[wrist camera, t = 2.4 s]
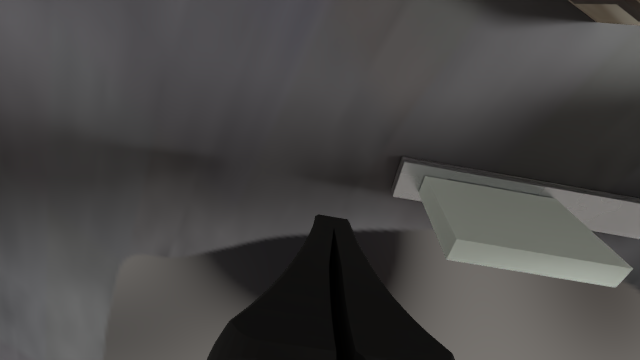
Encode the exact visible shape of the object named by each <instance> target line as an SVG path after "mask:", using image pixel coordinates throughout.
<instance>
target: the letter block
mask: <svg viewBox="0 0 640 360" xmlns="http://www.w3.org/2000/svg"><path fill="white" fill-rule="evenodd" d="M568 1H570V2H571V3H572V4H573V5H575V6H576V7H577V8H579V9H580V10H581V11H583V12H584V13H585V14H587V15H588V16H589V17H590V18H592V19H593V20H594V21H596V22H601V23H614V24H626V25H639V26H640V0H568Z"/></svg>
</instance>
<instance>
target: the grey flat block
mask: <svg viewBox="0 0 640 360" xmlns="http://www.w3.org/2000/svg"><path fill="white" fill-rule="evenodd" d="M419 196H420V198H421V200H422V203H423V205H424V208H425V210H426V212H427V215H428V217H429V219H430V222H431V224H432V227H433V229H434V231H435V234H436V236H437V238H438V241H439V243H440V245H441V248H442V250H443V253H444V255H445V258H446V259H447V260H453V261H458V262H464V263H471V264H477V265H483V266H489V267H495V268H501V269H507V270H513V271H519V272H525V273H531V274H537V275H543V276H550V277H555V278H561V279H567V280H574V281H579V282H586V283H592V284H598V285H604V286H610V287H617V286H618V284H620V282H621V281H622V280H623V279H624V278H625V277H626V276H627V275H628V274H629V273H630V272H631V271H632V270H633V268H632V267H631V266H630V265H628V264H627V263H626V262H625V261H624V260H623V259H622V258H621V257H620V256H618V255H617V254H616V253H615V252H614V251H613V250H612V249H611V248H610V247H609V246H607V245H606V244H605V243H604V242H603V241H602V240H601V239H600V238H599V237H597V236H596V235H595V234H594V233H593V232H592V231H591V230H590V229H589V228H588V227H586V226H585V225H584V224H583V223H582V222H581V221H580V220H579V219H578V218H576V217H575V216H574V215H573V214H572V213H571V212H570V211H569V210H568V209H567V208H565V207H564V206H563V205H562V204H561V203H560V202H559V201H558V200H557V199H553V198H548V197H542V196H536V195H530V194H525V193H519V192H513V191H508V190H502V189H496V188H491V187H485V186H479V185H474V184H468V183H462V182H456V181H451V180H445V179H439V178H434V177H428V176H425V178H424V180H423V183H422V185H421V188H420V190H419Z"/></svg>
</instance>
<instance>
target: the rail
mask: <svg viewBox="0 0 640 360" xmlns="http://www.w3.org/2000/svg"><path fill="white" fill-rule="evenodd" d="M425 176H428V177H434V178H439V179H445V180H451V181H456V182H462V183H468V184H474V185H479V186H485V187H491V188H496V189H502V190H508V191H513V192H519V193H525V194H530V195H536V196H542V197H548V198H553V199H557V200H558V201H559V202H560V203H561V204H562V205H563V206H564V207H565V208H567V209H568V210H569V211H570V212H571V213H572V214H573V215H574V216H575V217H576V218H578V219H579V220H580V221H581V222H582V223H583V224H584V225H585V226H586V227H588V228H589V229H590V230H591V231H596V232H602V233H607V234H613V235H619V236H625V237H631V238H636V239H640V198H635V197H630V196H624V195H618V194H613V193H607V192H601V191H596V190H590V189H585V188H579V187H573V186H568V185H562V184H556V183H551V182H545V181H539V180H534V179H528V178H523V177H517V176H511V175H506V174H500V173H494V172H489V171H483V170H478V169H472V168H466V167H461V166H455V165H449V164H444V163H438V162H432V161H427V160H421V159H416V158H410V157H404V156H402V158H401V161H400V164H399V167H398V170H397V173H396V176H395V179H394V182H393V185H392V188H391V192H392V196H393V197H398V198H404V199H410V200H416V201H422V200H421V198H420V196H419V190H420V188H421V185H422V183H423V180H424V178H425Z"/></svg>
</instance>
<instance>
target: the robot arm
mask: <svg viewBox="0 0 640 360" xmlns="http://www.w3.org/2000/svg"><path fill="white" fill-rule="evenodd" d="M207 360H455V359H454V356H453V354H452V353H451V352H450V351H449V350H448V349H446V348H445V347H444V346H443V345H442V344H440V343H439V342H438V341H437V340H436V339H435V338H433V337H432V336H431V335H430V334H429V333H428V332H426V331H425V330H424V329H423V328H422V327H421V326H420V325H419V324H418V323H417V322H416V321H415V320H414V319H413V318H412V317H411V316H410V315H409V314H408V313H407V312H406V311H405V310H404V309H403V307H402V306H401V305H400V304H399V303H398V302H397V301H396V300H395V299H394V297H393V296H392V295H391V294H390V292H389V291H388V290H387V289H386V287H385V286H384V284H383V283H382V282H381V280H380V279H379V277H378V276H377V274H376V273H375V271H374V270H373V268H372V267H371V265H370V263H369V262H368V260H367V258H366V256H365V255H364V253H363V251H362V249H361V247H360V245H359V243H358V241H357V239H356V237H355V235H354V232H353V230H352V228H351V225H350V223H349V221H348V220H347V219H342V218H336V217H330V216H324V215H317V216H315V220H314V224H313V227H312V229H311V232H310V234H309V236H308V237H307V239H306V241H305V243H304V245H303V247H302V248H301V250H300V251H299V252H298V254H297V256H296V257H295V258H294V260H293V261H292V263H291V264H290V265H289V266H288V268H287V269H286V270H285V271H284V272H283V274H282V275H281V276H280V277H279V278H278V279H277V280H276V281H275V283H274V284H273V285H272V286H271V287H270V288H269V289H268V290H267V291H265V292H264V293H263V294H262V295H261V296H260V297H259V298H258V299H257V300H255V301H254V302H253V303H252V304H251V305H250V306H249V307H247V308H246V309H244V310H243V311H242V312H241V313H239V314H238V315H237V316H235V317H234V318H233V319H231V320H230V321H229V323H228V324H227V325H226V327H225V328H224V330H223V331H222V333H221V334H220V336H219V337H218V339H217V341H216V342H215V344H214V346H213V348H212V350H211V352H210V354H209V356H208V358H207Z"/></svg>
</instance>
